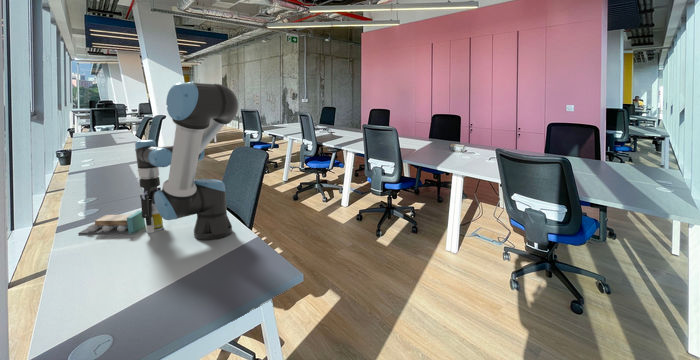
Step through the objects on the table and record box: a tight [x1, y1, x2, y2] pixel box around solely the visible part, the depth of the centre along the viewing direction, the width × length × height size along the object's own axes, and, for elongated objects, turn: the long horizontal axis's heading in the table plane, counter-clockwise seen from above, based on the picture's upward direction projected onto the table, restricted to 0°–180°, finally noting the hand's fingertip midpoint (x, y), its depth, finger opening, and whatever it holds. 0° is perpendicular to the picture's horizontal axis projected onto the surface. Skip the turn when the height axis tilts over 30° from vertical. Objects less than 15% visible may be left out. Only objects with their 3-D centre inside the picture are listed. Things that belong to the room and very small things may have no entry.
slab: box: [94, 214, 132, 225], centre depth 155 cm, size 13×8×2 cm, turn 94°
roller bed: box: [77, 210, 146, 236], centre depth 155 cm, size 22×10×7 cm, turn 94°
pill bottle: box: [152, 204, 164, 232], centre depth 155 cm, size 6×6×11 cm
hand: (154, 228), depth 157 cm, fingers open, 7 cm apart
